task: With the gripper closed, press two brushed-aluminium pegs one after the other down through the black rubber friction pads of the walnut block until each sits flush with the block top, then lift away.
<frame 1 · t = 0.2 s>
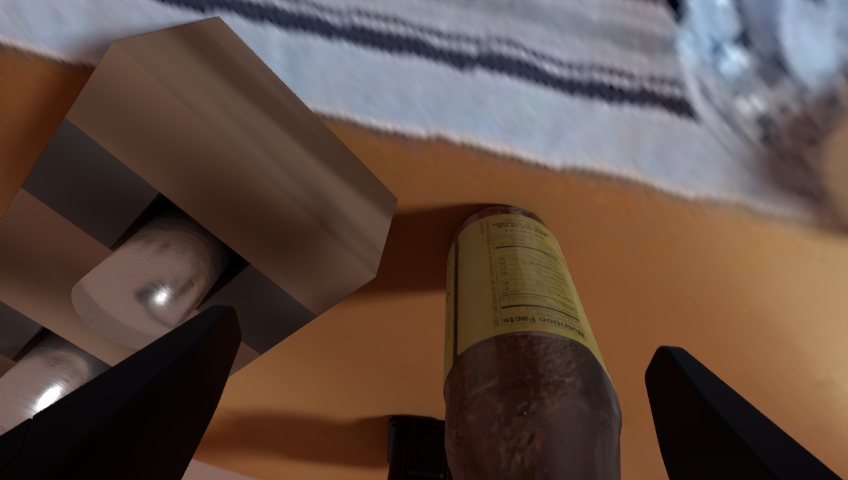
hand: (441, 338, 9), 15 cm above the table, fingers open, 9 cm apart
peg b: (178, 257, 18), point 7 cm above the table, slide at 3.5 cm
walnut block: (192, 239, 27), on the table
sauce bottle: (502, 241, 25), on the table
peg a: (65, 367, 23), point 7 cm above the table, slide at 3.5 cm
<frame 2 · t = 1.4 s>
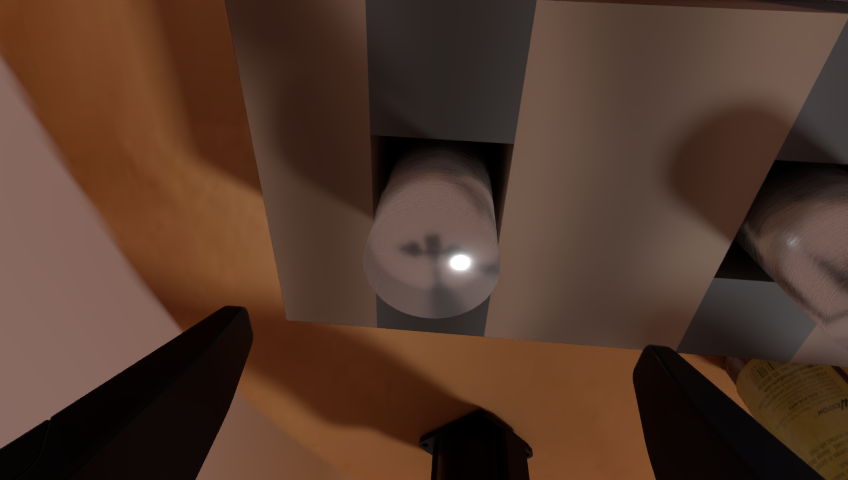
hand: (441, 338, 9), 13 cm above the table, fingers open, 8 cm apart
peg b: (814, 230, 14), point 7 cm above the table, slide at 3.5 cm
walnut block: (575, 140, 20), on the table
sauce bottle: (777, 345, 26), on the table
peg a: (437, 204, 14), point 7 cm above the table, slide at 3.5 cm
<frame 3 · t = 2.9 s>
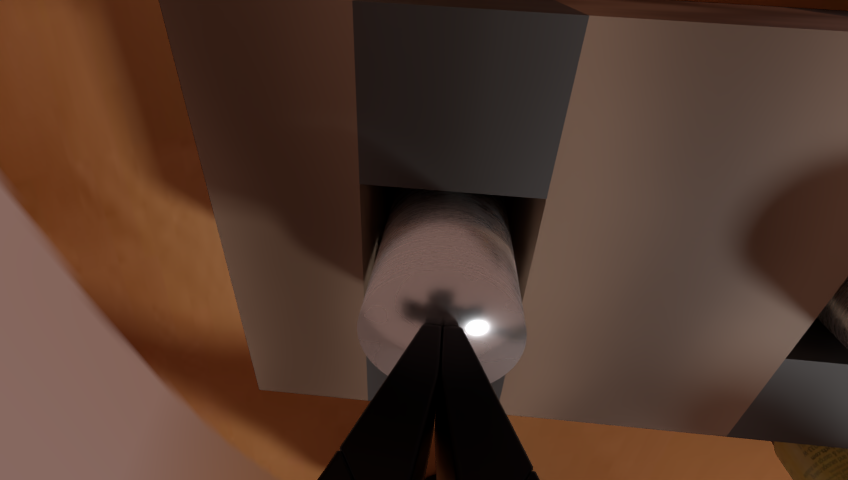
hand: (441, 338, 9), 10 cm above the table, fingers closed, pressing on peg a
walnut block: (603, 173, 17), on the table
sauce bottle: (818, 397, 23), on the table
peg a: (446, 246, 12), point 6 cm above the table, slide at 2.4 cm, touching gripper
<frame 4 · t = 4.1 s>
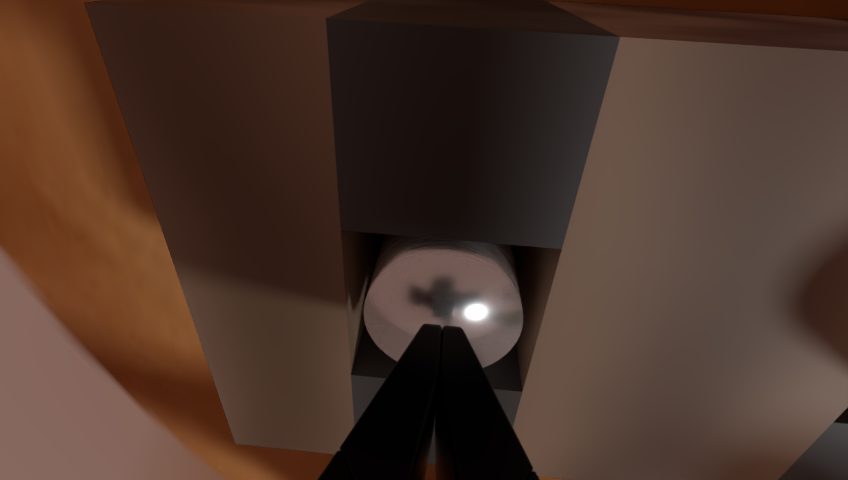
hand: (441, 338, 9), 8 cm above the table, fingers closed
walnut block: (617, 198, 15), on the table
peg a: (447, 237, 13), point 4 cm above the table, slide at -0.1 cm
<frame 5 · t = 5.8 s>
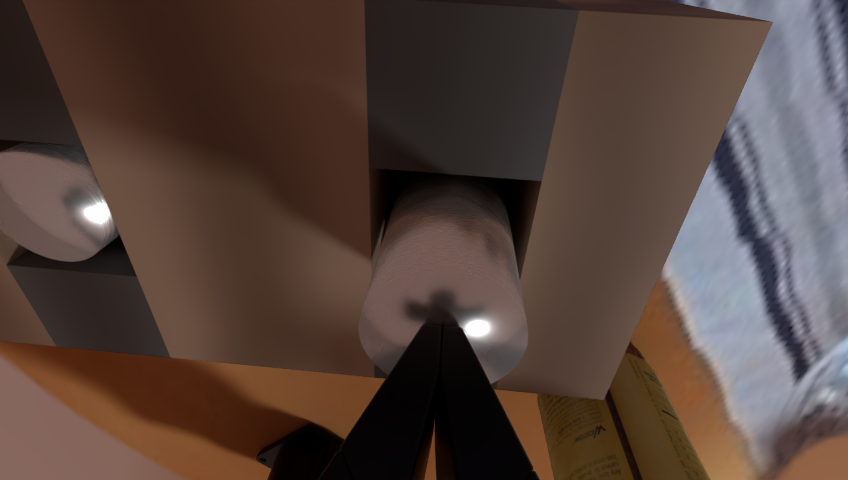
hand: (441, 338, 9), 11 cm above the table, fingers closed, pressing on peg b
peg b: (447, 246, 12), point 7 cm above the table, slide at 3.4 cm, touching gripper
walnut block: (312, 142, 18), on the table
sauce bottle: (590, 362, 24), on the table
peg a: (120, 164, 15), point 4 cm above the table, slide at -0.1 cm
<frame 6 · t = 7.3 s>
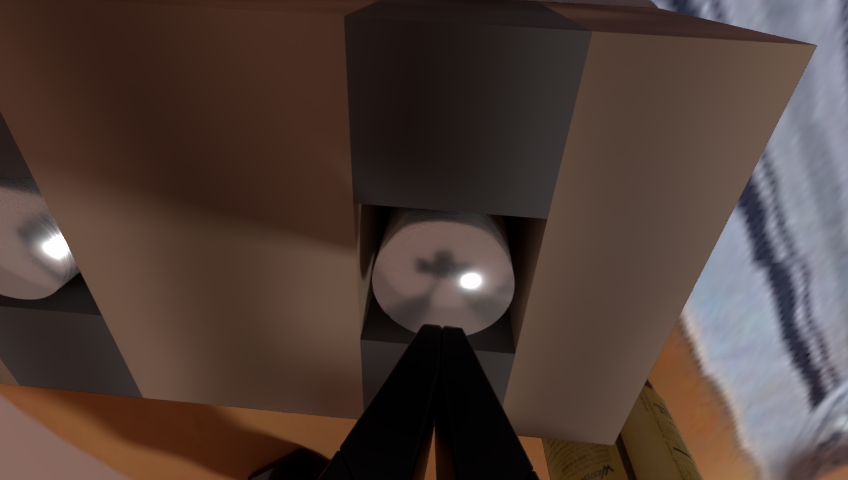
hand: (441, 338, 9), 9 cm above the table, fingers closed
peg b: (447, 217, 14), point 4 cm above the table, slide at -0.1 cm
walnut block: (299, 161, 17), on the table
sauce bottle: (595, 387, 23), on the table
peg a: (88, 189, 14), point 4 cm above the table, slide at -0.1 cm
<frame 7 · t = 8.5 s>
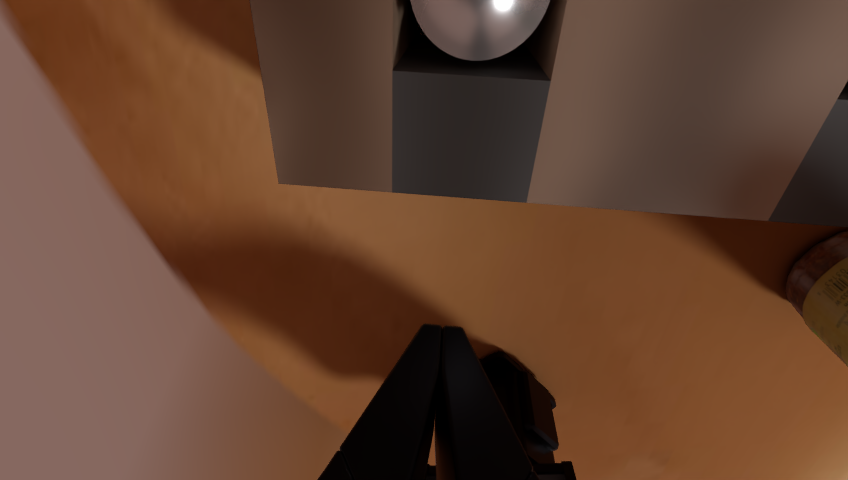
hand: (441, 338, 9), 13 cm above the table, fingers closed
sauce bottle: (846, 265, 22), on the table
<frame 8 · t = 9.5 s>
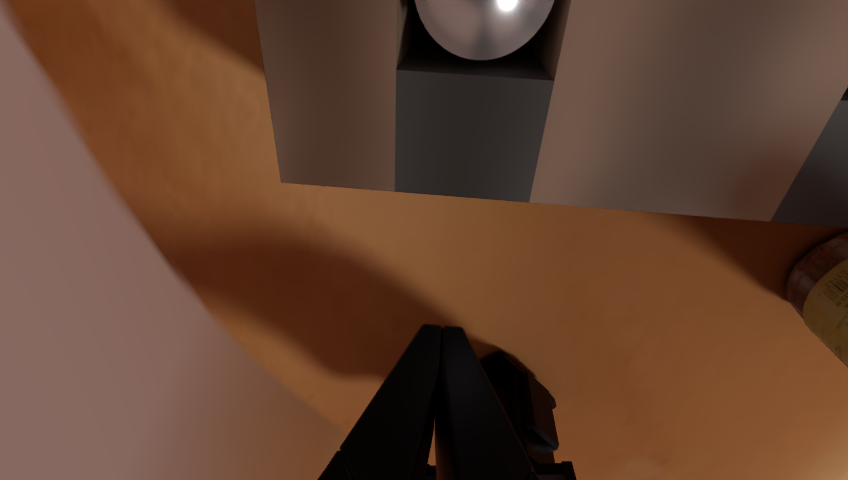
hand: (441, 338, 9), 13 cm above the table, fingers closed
sauce bottle: (847, 267, 22), on the table
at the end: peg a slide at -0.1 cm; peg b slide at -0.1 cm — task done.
